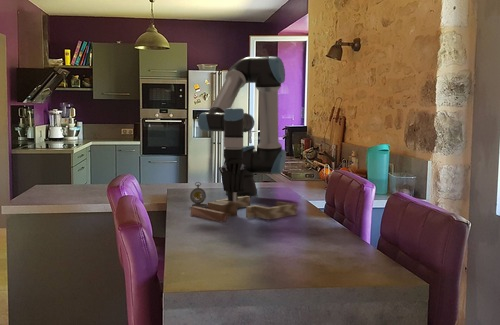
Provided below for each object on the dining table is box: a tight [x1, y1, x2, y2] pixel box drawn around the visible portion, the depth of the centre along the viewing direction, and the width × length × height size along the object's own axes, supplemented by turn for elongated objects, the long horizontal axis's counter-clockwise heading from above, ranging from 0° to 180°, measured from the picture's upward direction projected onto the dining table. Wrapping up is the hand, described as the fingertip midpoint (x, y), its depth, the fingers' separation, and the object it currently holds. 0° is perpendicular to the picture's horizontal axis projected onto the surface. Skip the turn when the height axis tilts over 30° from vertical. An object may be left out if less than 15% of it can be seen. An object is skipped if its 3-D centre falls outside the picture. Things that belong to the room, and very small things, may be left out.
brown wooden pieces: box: [190, 196, 298, 223], centre depth 209 cm, size 32×27×4 cm
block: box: [207, 200, 238, 218], centre depth 207 cm, size 8×8×5 cm
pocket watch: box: [189, 181, 208, 209], centre depth 223 cm, size 8×8×10 cm
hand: (232, 208), depth 210 cm, fingers closed
